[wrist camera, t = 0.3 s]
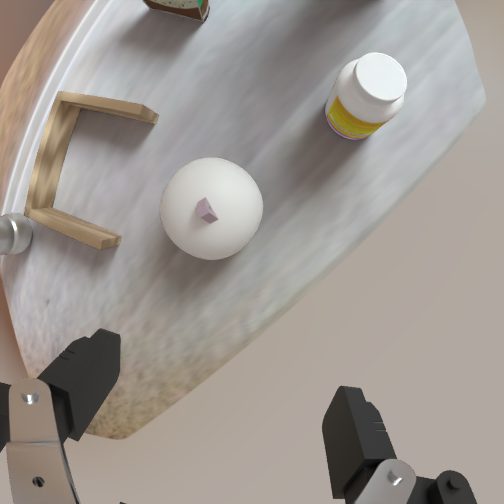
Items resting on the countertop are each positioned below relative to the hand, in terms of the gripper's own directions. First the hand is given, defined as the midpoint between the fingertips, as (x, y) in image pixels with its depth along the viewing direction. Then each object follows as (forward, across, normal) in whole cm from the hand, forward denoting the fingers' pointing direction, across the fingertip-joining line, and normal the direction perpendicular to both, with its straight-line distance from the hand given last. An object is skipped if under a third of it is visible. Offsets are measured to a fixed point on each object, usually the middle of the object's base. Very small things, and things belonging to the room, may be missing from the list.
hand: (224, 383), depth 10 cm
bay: (+30, +22, -3) cm, 37 cm away
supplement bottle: (+29, -8, -16) cm, 34 cm away
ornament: (+29, +5, -2) cm, 29 cm away
